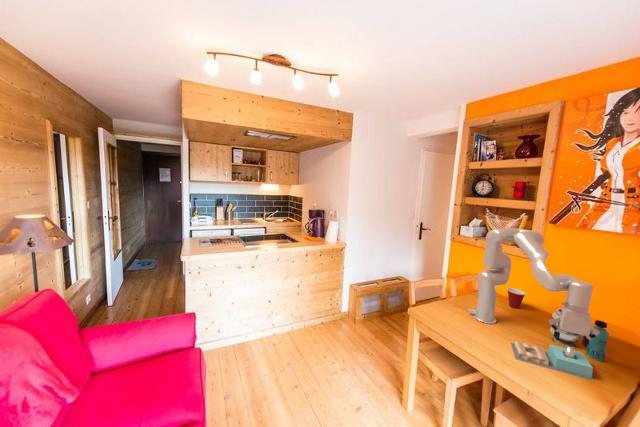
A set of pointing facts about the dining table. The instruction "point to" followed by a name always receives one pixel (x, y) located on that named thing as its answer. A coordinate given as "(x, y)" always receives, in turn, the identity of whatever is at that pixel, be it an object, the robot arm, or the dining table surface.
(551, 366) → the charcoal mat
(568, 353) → the steel pin
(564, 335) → the apothecary jar
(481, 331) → the dining table surface
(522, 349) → the ash mount
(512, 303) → the plastic cup
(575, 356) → the teal dock
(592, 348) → the beverage bottle
